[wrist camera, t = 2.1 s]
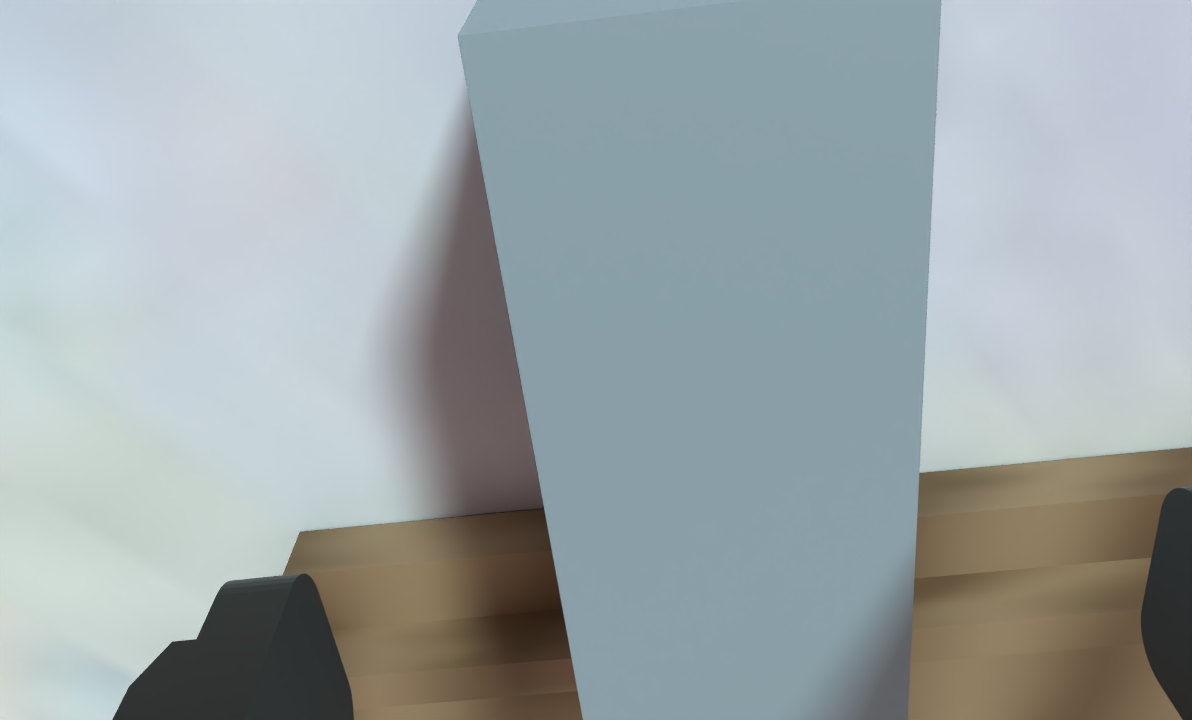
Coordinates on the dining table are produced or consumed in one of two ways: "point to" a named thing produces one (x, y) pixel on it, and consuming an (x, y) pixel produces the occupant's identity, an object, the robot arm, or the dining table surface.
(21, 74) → the dining table surface
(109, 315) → the dining table surface
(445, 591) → the brown flat frame
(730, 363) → the carton
